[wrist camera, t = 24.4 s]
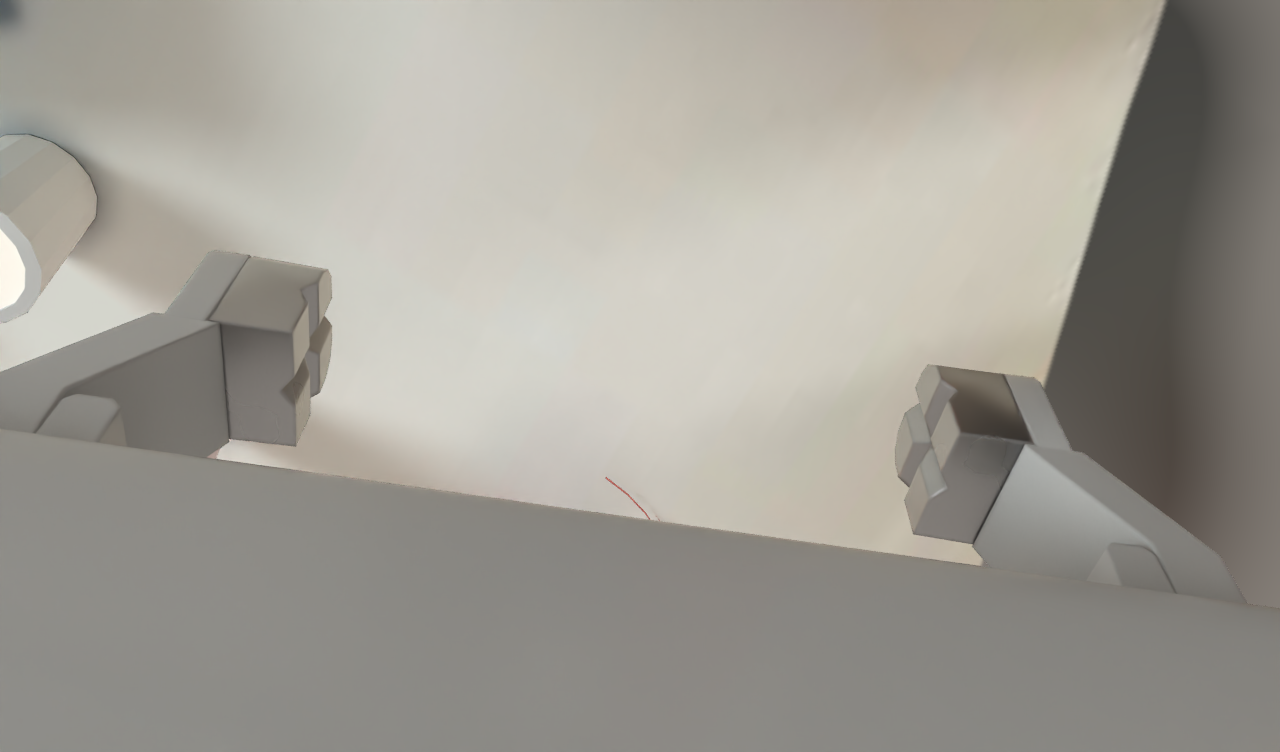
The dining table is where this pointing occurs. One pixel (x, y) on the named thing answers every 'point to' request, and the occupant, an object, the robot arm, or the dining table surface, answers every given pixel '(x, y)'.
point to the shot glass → (38, 217)
